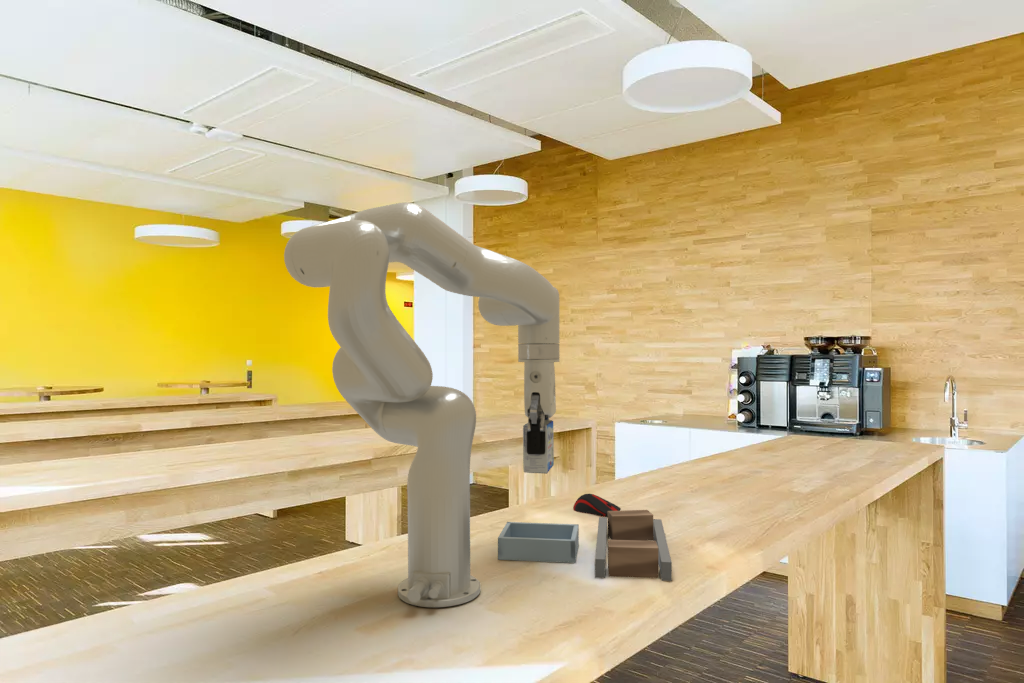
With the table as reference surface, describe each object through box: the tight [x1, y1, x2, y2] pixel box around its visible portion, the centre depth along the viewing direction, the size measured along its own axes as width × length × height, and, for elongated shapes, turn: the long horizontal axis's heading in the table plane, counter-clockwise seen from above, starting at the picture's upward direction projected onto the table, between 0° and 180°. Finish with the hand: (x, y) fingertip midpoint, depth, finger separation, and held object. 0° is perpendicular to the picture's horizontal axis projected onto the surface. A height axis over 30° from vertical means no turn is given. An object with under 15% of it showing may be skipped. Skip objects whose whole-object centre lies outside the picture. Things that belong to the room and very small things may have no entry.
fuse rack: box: [594, 516, 673, 582], centre depth 124 cm, size 26×12×3 cm, turn 171°
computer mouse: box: [572, 493, 622, 518], centre depth 154 cm, size 6×11×4 cm, turn 47°
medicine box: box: [522, 419, 555, 475], centre depth 125 cm, size 8×4×9 cm, turn 168°
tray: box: [497, 521, 580, 564], centre depth 125 cm, size 11×14×4 cm
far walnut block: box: [607, 509, 654, 541], centre depth 133 cm, size 4×8×5 cm, turn 95°
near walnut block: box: [607, 539, 660, 579], centre depth 114 cm, size 4×8×5 cm, turn 84°
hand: (539, 449), depth 125 cm, fingers closed on medicine box, 8 cm apart
